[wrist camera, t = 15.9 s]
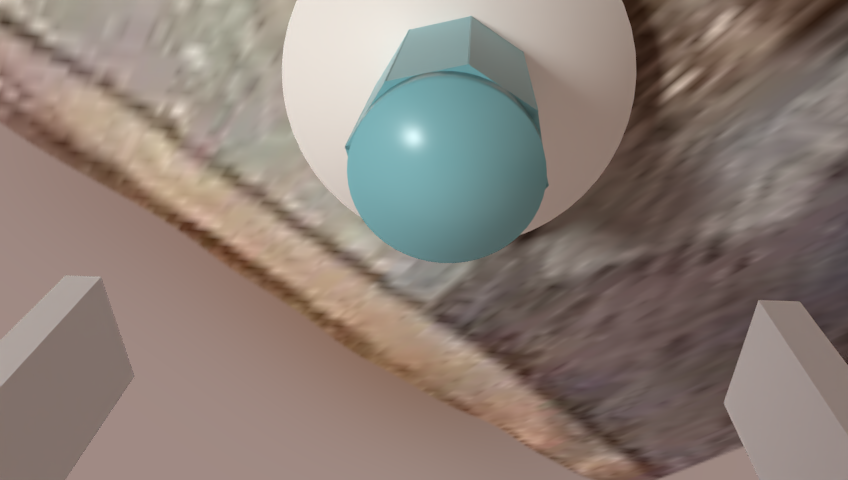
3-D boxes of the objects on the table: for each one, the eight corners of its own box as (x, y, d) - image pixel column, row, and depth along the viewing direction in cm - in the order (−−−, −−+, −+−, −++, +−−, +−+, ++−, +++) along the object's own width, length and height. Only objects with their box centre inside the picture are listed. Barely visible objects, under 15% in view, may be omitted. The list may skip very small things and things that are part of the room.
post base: (226, 18, 29) (148, 60, 22) (537, -193, 24) (560, -221, 17) (401, 270, 36) (383, 364, 29) (675, 145, 31) (732, 222, 24)
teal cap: (473, 188, 30) (471, 293, 23) (356, 116, 29) (312, 201, 21) (558, 75, 27) (590, 153, 20) (432, -11, 26) (413, 35, 18)
